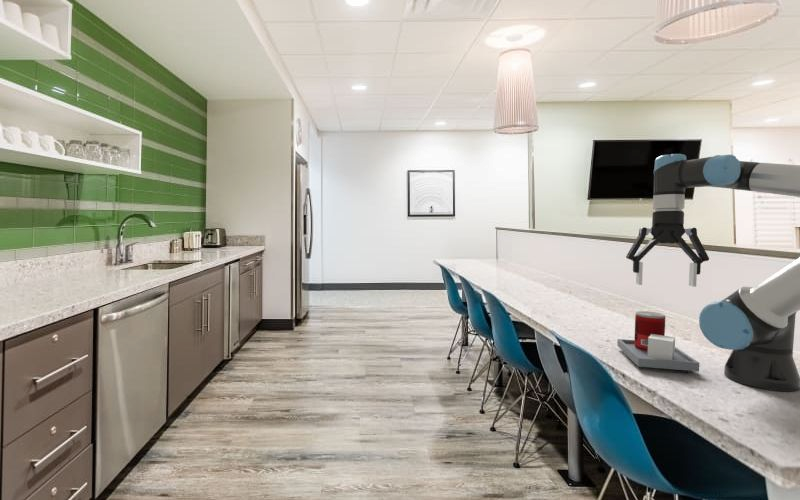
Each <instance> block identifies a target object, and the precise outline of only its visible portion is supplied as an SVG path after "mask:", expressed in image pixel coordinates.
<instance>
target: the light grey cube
mask: <svg viewBox="0 0 800 500" xmlns="http://www.w3.org/2000/svg"><path fill="white" fill-rule="evenodd" d="M675 347H676V337H674V336H671V335H669V336H668V335H665V336H663V335H656V334H651V335H650V336H649V337H648V355H647V358H652V359H665V360H673V359H674V353H675Z"/></svg>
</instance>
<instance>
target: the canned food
mask: <svg viewBox="0 0 800 500" xmlns="http://www.w3.org/2000/svg"><path fill="white" fill-rule="evenodd" d="M665 330H666V315H665V314H664V313H660V312H657V311H647V310H646V311H645V310H644V311H643V310H642V311H641V310H640V311H636V312H635V319H634V339H633V340H634V345H635V347H636V348H638V349H640V350H644V351H648V337H649V336H650V335H651V334H656V335H663V336H666V334H665V333H666V331H665Z"/></svg>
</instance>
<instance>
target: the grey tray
mask: <svg viewBox="0 0 800 500" xmlns="http://www.w3.org/2000/svg"><path fill="white" fill-rule="evenodd" d="M616 346H617V347H618V348H619V349H620V350H621V352H622V353H624V354H625V355H626V356H627V358H629V359H630V360H631V361H632V362H633V363H634V364H635V365H637V367H638V369H644V368H655V369H666V370H681V371H685V372H686V373H692V372H700V362H699V361H697V360H696V359H695V358H693V357H691V356H690V355H688V354H687V353H685V352H684V351H683V350H681V349H680V348H678V347H676V346H675V353H674V359H673V360H665V359H652V358H647V355H648V351H644V350H640V349H638V348H636V347H635V345H634V339H625V338H617V345H616Z"/></svg>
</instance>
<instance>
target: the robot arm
mask: <svg viewBox="0 0 800 500" xmlns="http://www.w3.org/2000/svg"><path fill="white" fill-rule="evenodd" d="M652 173H653V196H652V197H653V198H652V210H654V211H653V212H652V220H651V221H652V222H651V228H649V227H648V228H647V227H639V230H638V235H637V237H636V238H635V241H634V242H633V244H632V245H631V247H630V249H629V250H628V253H627V254H626V256H625V257H626V259H627V260H630V261H632V272H633V273H634V274H636V275H635V283H636V285H639V286H642V285H643V268H644V267H643V266H644V263H643V261H641V260H642V259H643V258H644V257H645V256H646V255H647V254H648V253H649V252H650V251H652V249H653V248H654V247H655V246H657V245H658V244H676V245H677V246H679V248H680V249H681V250H682V251H683V252H684V253H685V255H687V257H688V258H689V259H691V261H692V262H689V274H688V286H689V287H694V288H695V287H697V275H700V274H701V267H702V266H701V264H703V263H704V262H708V261H709V260H710V257H709V255H708V254H707V251H706V250H705V247H704V246H703V244H702V241H701V240H700V238H699V236H698V230H697V228H696V227H689V228H685V227H684V224H685V223H684V222H685V212H684V211H683V210H684V209H685V204H686V203H685V199H686V198H685V197H686V196H685V194H686V189H691V188H703V187H707V188H709V187H711V188H721V189H731V190H735V191H736V190H737V191H748V192H757V193H765V194H773V195H781V196H787V197H788V196H789V197H794V198H795V197H796V198H800V165H799V164H787V163H785V164H783V163H772V162H770V163H769V162H759V161H758V162H756V161H743V160H739V159H738V158H737V157H736V156H735V155H733V154H724V155H723V154H722V155H721V154H717V155H713V156H708V157H699V158H694V159H687V155H685V154H682V153H671V154H663V155H660V156H658V157H656V158H655V160H654V169H653V172H652ZM649 234H650V235H651V236H652V238H651V239H650V240H649V241H648V242H647V243H646V244H645V245H644V246H643V247H642V248H641V249H640V247H641V245H642V244H643V243H644V242H643V241H645V239H646V237H647V236H648V235H649ZM684 235H687V236H688V239H689V240H690V243H691V245H693V248H694V249H692V248H691V247H690V246H689V244H688V243H687V242H686V240H685V239H684V238H683V237H684ZM639 249H640V250H639ZM694 250H695V251H694ZM798 311H800V256H799V257H798V258H796V259H795V260H793V261H792V262H790V263H789V264H788V265H786V266H784V267H782V268H781V269H779V270H778V271H777V272H775V273H773V274H772V275H771V276H769V277H767V278H766V279H765V280H763V281H762V282H760V283H759V284H757V285H755V286H754V287H753V286H741V287H740V288H738V289H737V290H736V291H733V292H732V293H731V294H729V295H728V296H727V297H725V298H723V299H722V300H716V301H712V302H710V303H709V304H707V305H704V307H703V308H702V310H701V311H700V313H699V316H698V319H699V320H698V321H699V323H698V325H699V329H700V331H701V333H702V334H703V336H704V337H705V338H706V340H707V341H709V342H710V343H711V344H713V345H714V346H716V347H718V348H721V349H724V350H729V351H731V350H732V351H731V353H730V355H729V357H728V358H727V360H726V362H725V364H724V373H723V375H724V376H725V377H727V378H728V379H730V380H731V381H735V382H736V383H739V384H743V385H747V386H749V387H753V388H754V387H755V388H760V389H764V390H771V391H777V392H778V391H780V392H795V391H799V390H800V373H799V371H798V368H797V365H796V362H795V359H794V356H793V355H794V354H793V353H794V342H795V341H794V340H795V328H796V314H797V312H798Z"/></svg>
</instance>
